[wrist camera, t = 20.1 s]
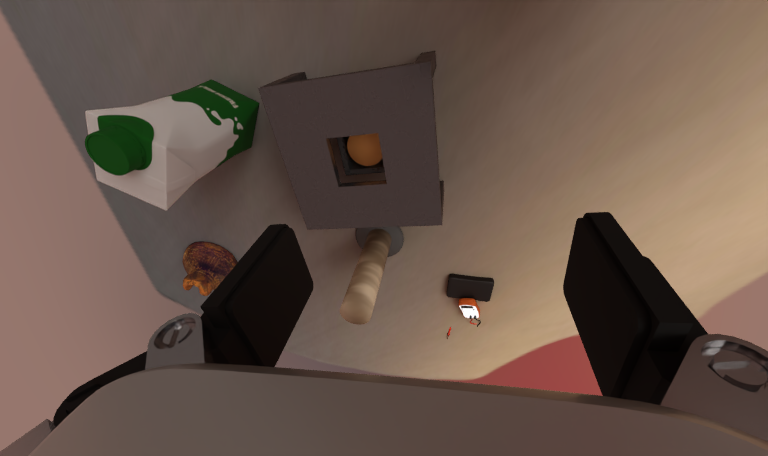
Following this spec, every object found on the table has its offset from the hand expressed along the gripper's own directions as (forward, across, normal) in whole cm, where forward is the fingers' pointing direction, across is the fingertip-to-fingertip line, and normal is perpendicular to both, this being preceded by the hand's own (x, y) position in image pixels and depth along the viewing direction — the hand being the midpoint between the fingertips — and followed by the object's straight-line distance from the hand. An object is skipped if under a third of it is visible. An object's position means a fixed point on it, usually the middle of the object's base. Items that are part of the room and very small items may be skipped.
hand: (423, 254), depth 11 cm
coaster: (+33, +12, +23) cm, 42 cm away
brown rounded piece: (+34, +48, +29) cm, 65 cm away
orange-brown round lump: (+33, +10, +6) cm, 35 cm away
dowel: (+33, +12, +23) cm, 42 cm away
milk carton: (+34, +30, +1) cm, 45 cm away
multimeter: (+34, -3, +41) cm, 53 cm away
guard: (+33, +10, +6) cm, 35 cm away
